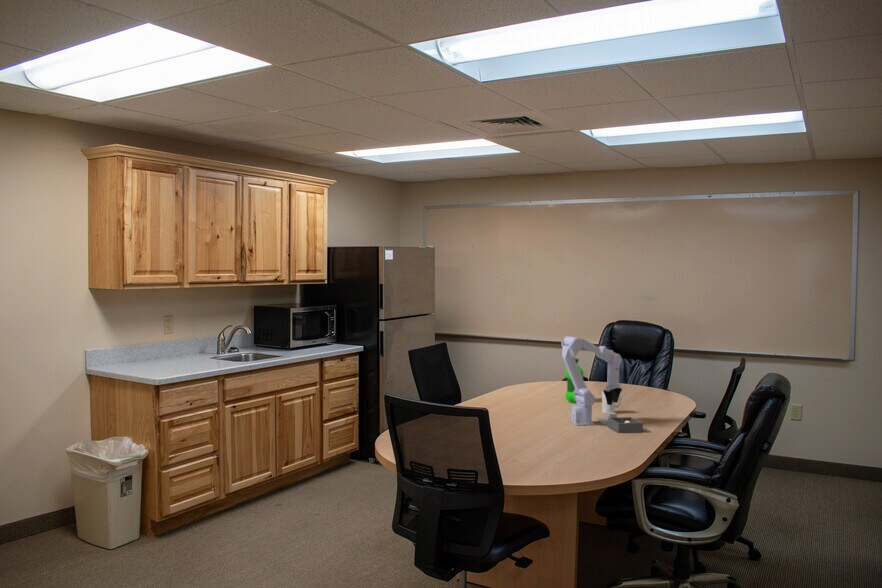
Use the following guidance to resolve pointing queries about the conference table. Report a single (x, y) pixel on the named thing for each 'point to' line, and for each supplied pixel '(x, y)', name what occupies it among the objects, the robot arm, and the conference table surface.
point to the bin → (625, 425)
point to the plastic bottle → (571, 385)
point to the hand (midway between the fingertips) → (612, 403)
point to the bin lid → (605, 420)
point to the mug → (609, 408)
